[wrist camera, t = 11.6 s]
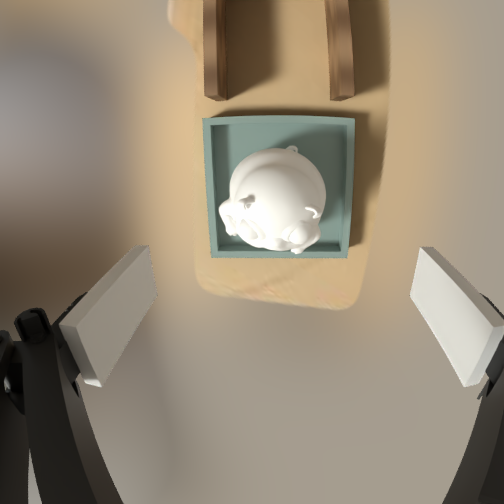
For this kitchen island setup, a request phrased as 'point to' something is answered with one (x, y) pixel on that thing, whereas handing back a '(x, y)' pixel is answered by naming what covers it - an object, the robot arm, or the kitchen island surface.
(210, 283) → the kitchen island surface
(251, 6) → the kitchen island surface
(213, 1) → the wooden open box
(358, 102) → the kitchen island surface
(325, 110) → the kitchen island surface
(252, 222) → the figurine
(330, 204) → the tray
